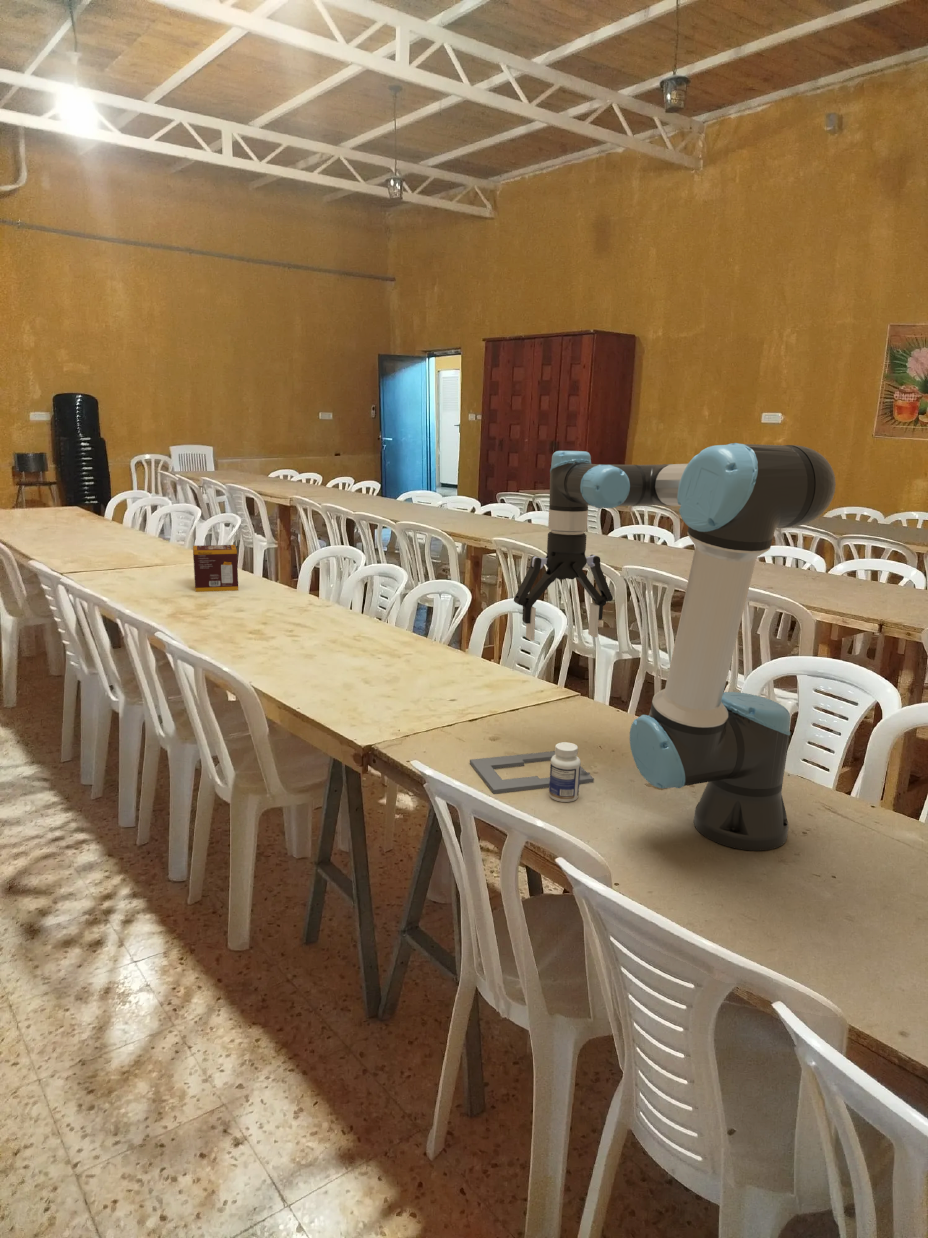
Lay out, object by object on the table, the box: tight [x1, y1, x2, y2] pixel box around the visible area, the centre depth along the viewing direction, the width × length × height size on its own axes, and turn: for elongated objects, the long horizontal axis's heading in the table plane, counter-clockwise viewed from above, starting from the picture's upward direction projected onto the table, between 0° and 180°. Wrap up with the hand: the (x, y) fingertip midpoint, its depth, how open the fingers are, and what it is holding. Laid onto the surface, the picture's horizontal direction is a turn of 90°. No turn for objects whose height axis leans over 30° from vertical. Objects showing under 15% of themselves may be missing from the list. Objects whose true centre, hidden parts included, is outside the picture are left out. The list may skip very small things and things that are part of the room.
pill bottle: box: [548, 741, 582, 803], centre depth 153 cm, size 5×5×10 cm
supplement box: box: [192, 544, 239, 593], centre depth 314 cm, size 10×15×16 cm
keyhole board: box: [469, 750, 595, 795], centre depth 163 cm, size 14×20×1 cm
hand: (561, 637), depth 170 cm, fingers open, 13 cm apart
